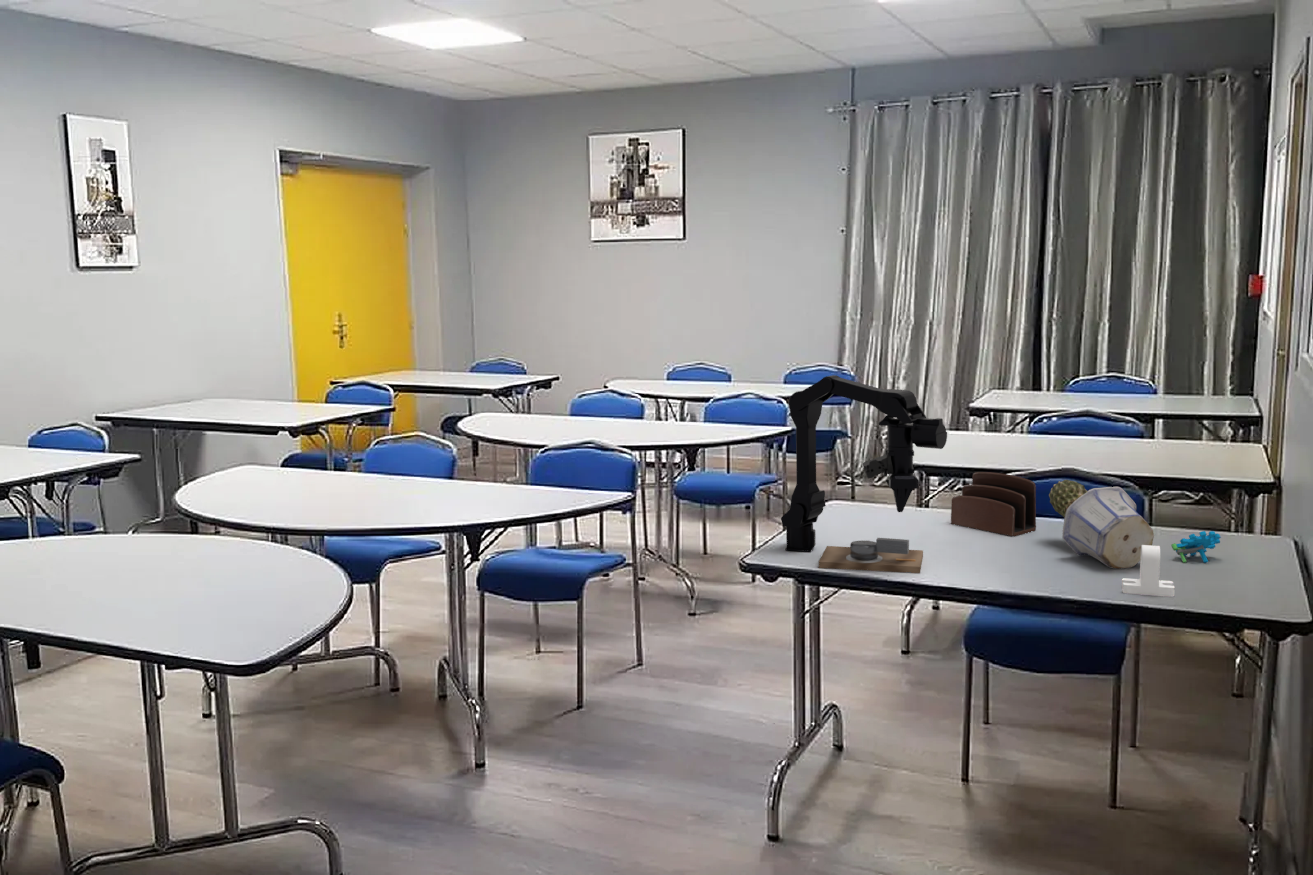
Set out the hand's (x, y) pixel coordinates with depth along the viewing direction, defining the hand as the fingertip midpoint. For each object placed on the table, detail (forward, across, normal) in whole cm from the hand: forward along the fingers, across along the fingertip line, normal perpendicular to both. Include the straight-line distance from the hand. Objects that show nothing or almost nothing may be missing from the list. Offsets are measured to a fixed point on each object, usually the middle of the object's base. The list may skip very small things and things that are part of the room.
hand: (899, 511), depth 255 cm
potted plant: (+13, -10, +46) cm, 49 cm away
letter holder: (+13, -38, +28) cm, 49 cm away
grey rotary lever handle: (+11, +1, -5) cm, 12 cm away
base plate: (+13, -2, -6) cm, 14 cm away
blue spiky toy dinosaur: (+13, -6, +68) cm, 70 cm away
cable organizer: (+13, +20, +49) cm, 55 cm away
